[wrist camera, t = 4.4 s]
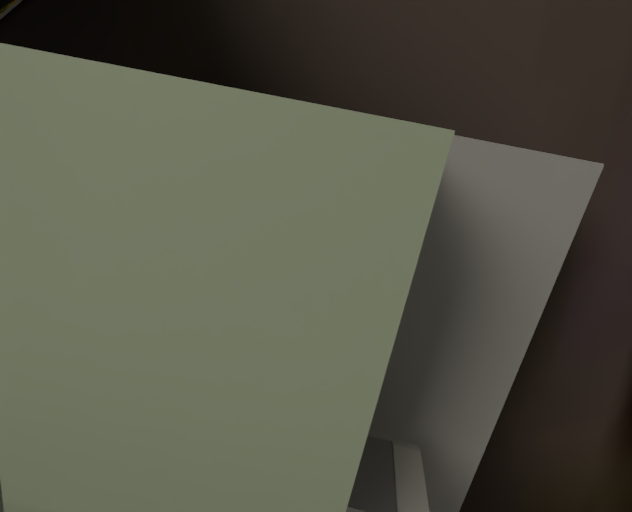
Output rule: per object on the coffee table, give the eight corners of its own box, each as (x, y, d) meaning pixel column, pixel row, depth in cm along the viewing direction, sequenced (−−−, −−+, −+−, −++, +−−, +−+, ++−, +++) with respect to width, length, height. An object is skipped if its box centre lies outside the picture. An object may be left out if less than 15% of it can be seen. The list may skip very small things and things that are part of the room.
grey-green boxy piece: (200, 86, 8) (-50, 33, 3) (559, 156, 7) (884, 214, 3) (165, 518, 12) (33, 779, 7) (399, 578, 11) (422, 896, 7)
